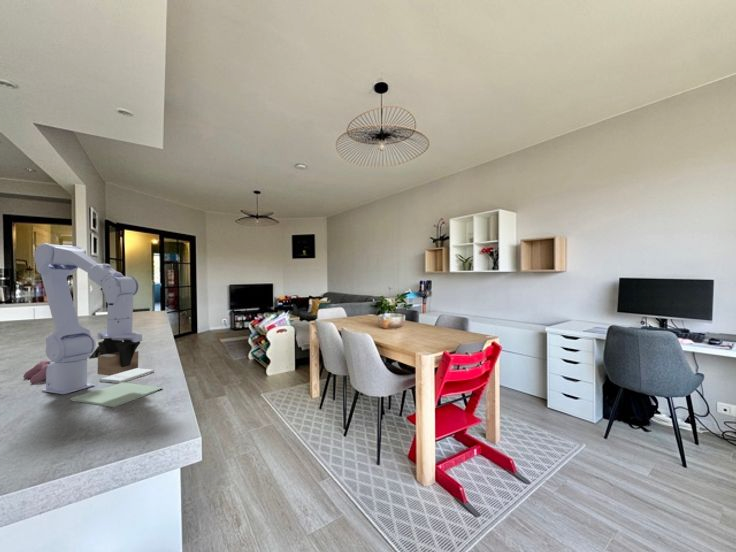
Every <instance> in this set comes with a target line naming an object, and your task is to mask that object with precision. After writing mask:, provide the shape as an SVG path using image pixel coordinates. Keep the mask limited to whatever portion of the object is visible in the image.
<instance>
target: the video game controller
mask: <svg viewBox="0 0 736 552" xmlns="http://www.w3.org/2000/svg"><path fill="white" fill-rule="evenodd" d="M50 363H51V360H40V362H38V363H37V364H35V365H34V366H33V367H32V368H31V369H28V370H27V371H26V372H25V373H24V374H23V379H25V380H27V379H29V383H30V384H37V383H40V382H41V381H44V380H45V381H46V370H47V367H48V365H49V364H50Z"/></svg>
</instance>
